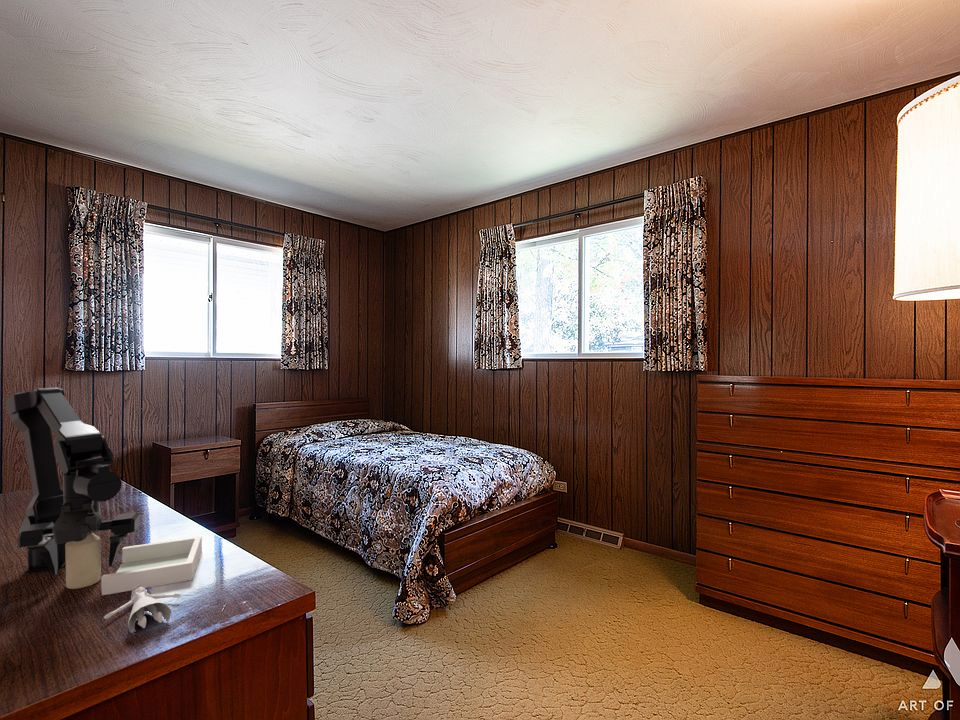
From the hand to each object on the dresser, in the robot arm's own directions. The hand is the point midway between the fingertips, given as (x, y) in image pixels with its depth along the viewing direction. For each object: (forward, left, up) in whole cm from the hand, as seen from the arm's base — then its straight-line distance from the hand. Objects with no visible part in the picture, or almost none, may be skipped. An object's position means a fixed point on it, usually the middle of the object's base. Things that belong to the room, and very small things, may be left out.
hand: (83, 570), depth 100 cm
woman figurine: (+14, -20, -3) cm, 25 cm away
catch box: (+12, 0, -2) cm, 12 cm away
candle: (0, 0, -3) cm, 3 cm away
